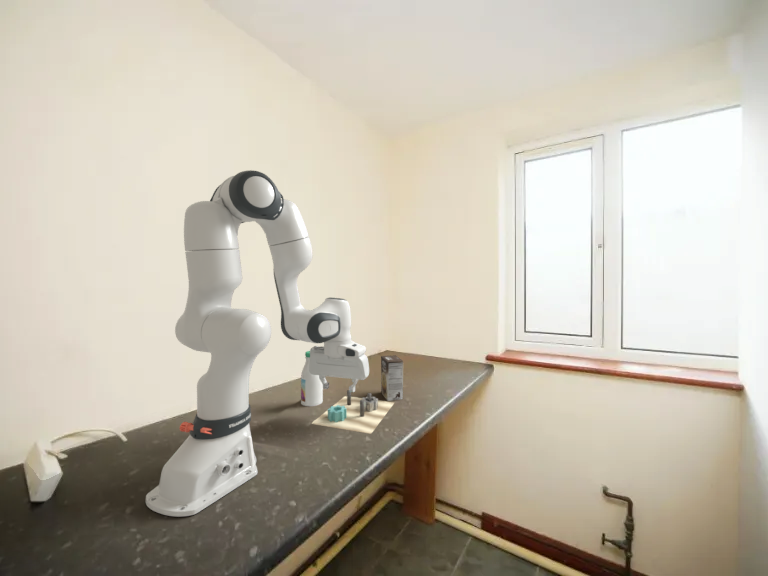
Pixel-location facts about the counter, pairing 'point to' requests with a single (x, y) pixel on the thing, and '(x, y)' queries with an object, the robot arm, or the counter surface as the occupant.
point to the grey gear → (370, 404)
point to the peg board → (356, 415)
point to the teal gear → (337, 413)
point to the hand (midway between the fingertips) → (338, 389)
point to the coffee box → (392, 377)
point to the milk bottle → (310, 386)
